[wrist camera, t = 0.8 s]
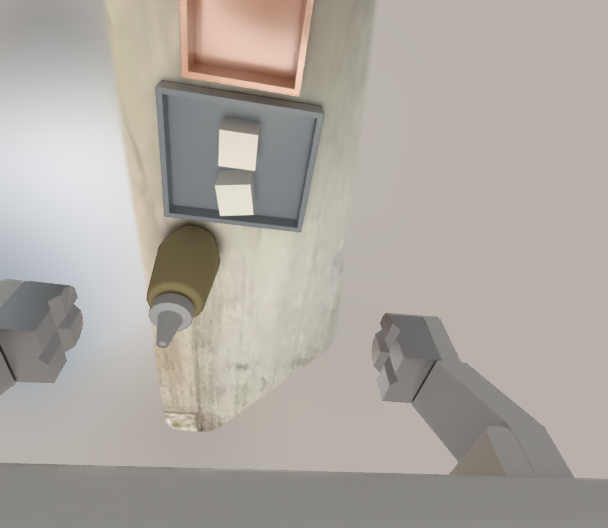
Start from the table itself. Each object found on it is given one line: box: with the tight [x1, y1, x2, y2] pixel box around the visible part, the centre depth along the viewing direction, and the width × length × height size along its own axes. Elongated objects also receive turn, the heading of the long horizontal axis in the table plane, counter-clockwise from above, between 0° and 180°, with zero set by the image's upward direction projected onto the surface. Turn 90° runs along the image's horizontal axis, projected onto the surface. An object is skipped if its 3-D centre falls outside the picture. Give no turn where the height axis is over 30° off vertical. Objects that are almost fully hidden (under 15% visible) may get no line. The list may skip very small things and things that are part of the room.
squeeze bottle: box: [147, 226, 220, 348], centre depth 46 cm, size 8×8×18 cm
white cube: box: [218, 117, 260, 171], centre depth 42 cm, size 4×4×4 cm
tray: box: [155, 80, 324, 232], centre depth 45 cm, size 15×17×3 cm
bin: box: [179, 0, 314, 97], centre depth 35 cm, size 11×11×5 cm
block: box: [215, 170, 256, 216], centre depth 45 cm, size 4×4×4 cm
